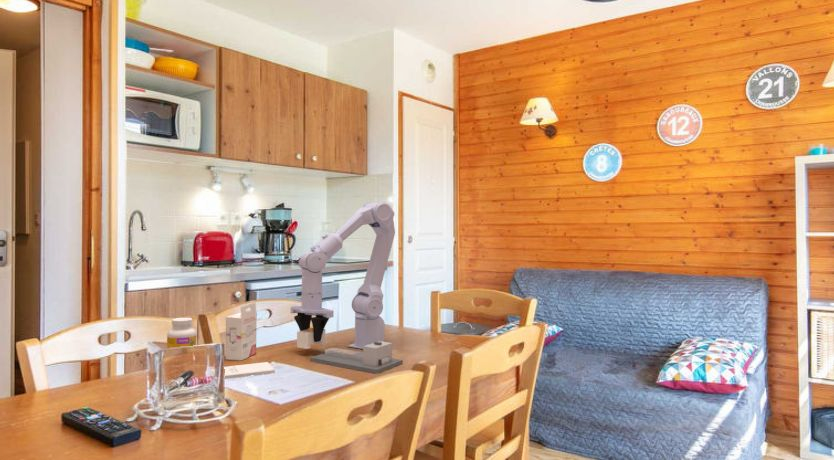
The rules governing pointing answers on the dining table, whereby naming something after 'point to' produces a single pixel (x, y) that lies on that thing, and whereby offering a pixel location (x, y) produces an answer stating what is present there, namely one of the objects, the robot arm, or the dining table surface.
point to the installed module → (376, 352)
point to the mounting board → (354, 363)
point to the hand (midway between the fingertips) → (311, 340)
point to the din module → (308, 338)
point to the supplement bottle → (181, 333)
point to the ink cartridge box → (241, 333)
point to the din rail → (351, 355)
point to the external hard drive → (248, 370)
